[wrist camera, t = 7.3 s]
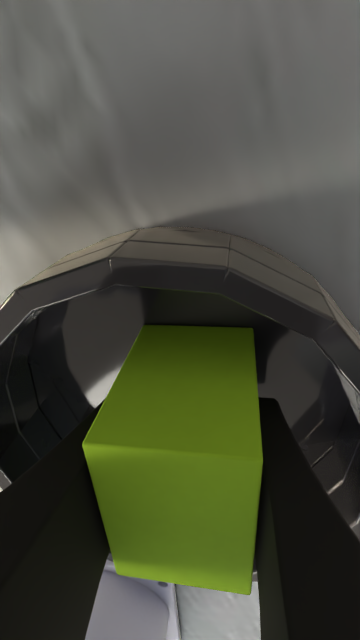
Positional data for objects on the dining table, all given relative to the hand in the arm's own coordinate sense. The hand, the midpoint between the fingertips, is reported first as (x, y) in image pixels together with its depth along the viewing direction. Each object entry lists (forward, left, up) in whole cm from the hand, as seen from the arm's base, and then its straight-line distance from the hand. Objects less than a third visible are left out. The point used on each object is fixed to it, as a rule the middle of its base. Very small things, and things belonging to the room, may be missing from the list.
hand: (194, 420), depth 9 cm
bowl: (-1, +1, -2) cm, 2 cm away
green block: (0, 0, -2) cm, 2 cm away
